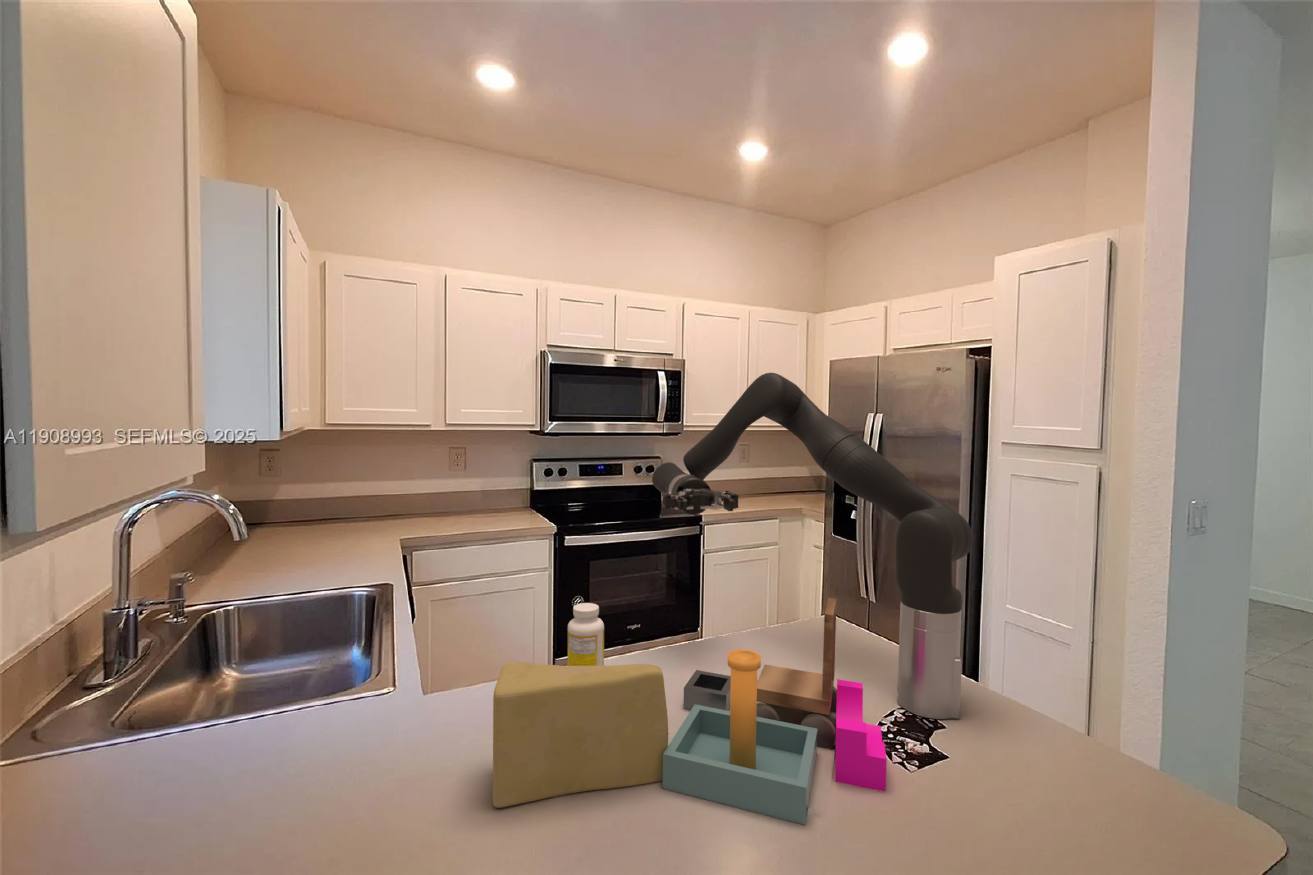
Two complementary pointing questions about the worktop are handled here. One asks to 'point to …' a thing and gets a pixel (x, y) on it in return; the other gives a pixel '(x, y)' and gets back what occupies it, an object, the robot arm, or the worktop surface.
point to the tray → (769, 789)
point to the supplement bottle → (586, 636)
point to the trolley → (805, 687)
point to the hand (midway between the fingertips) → (708, 505)
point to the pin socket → (708, 691)
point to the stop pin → (743, 707)
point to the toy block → (857, 741)
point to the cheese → (576, 729)
